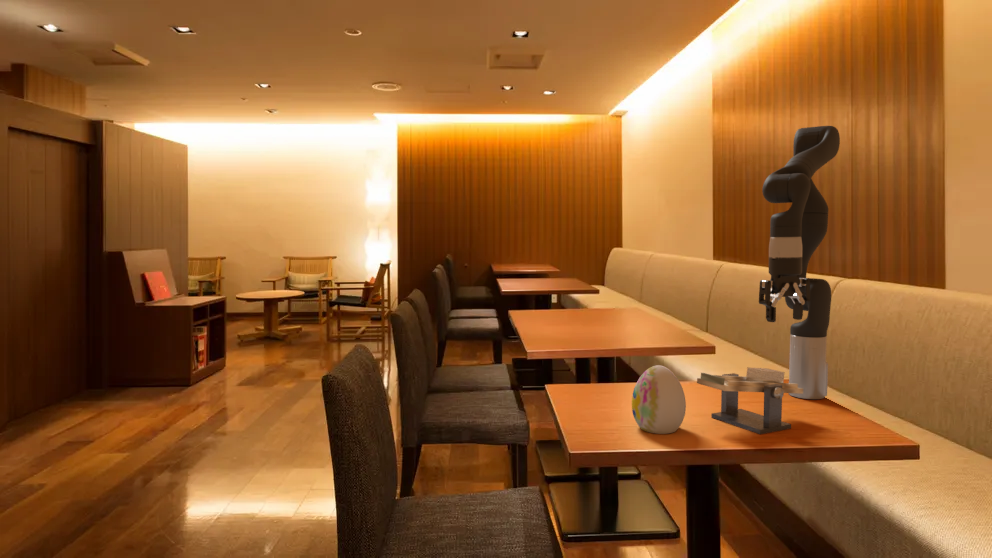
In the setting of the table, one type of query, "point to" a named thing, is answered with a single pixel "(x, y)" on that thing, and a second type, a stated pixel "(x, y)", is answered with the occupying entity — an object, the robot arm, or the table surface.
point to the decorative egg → (658, 401)
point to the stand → (750, 419)
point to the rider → (764, 375)
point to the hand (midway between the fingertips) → (784, 320)
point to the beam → (742, 384)
